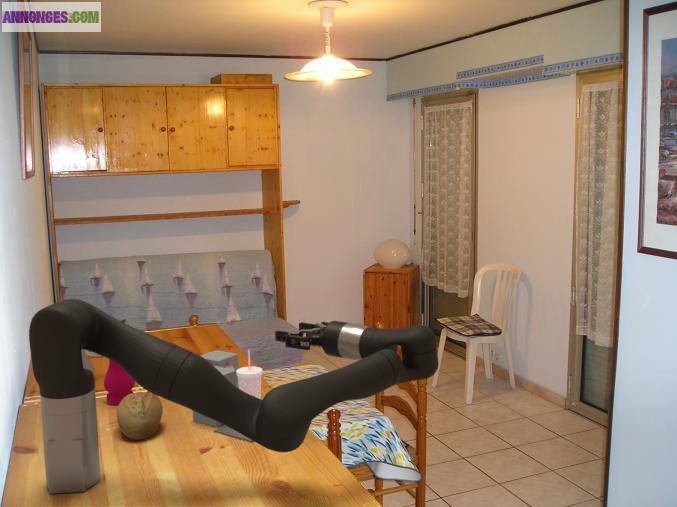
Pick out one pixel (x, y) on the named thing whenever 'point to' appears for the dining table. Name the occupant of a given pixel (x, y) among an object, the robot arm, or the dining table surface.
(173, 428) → the dining table surface
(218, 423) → the near cabinet dock
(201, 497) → the dining table surface
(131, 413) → the bread roll
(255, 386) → the beverage cup
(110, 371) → the pepper mill
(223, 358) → the far cabinet
